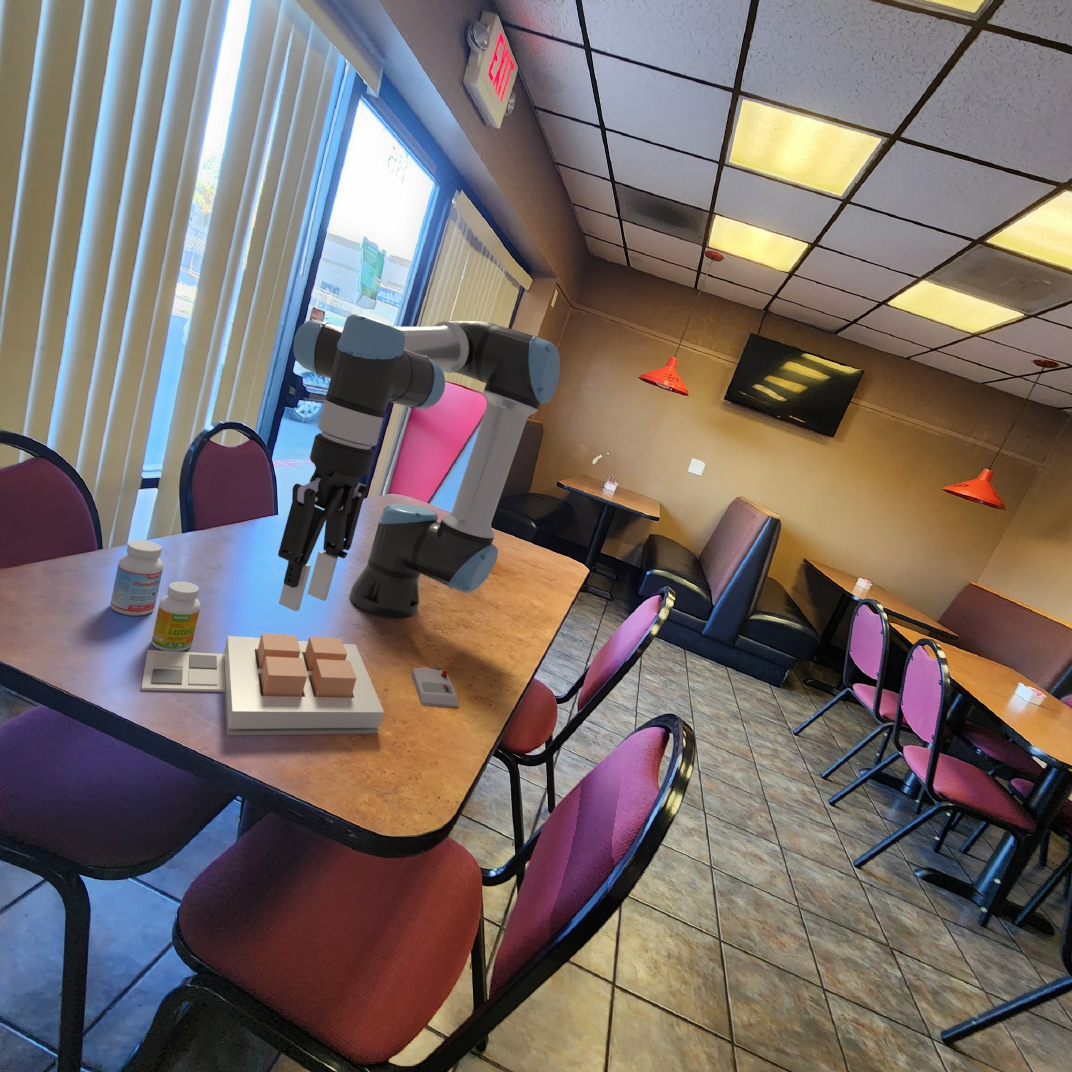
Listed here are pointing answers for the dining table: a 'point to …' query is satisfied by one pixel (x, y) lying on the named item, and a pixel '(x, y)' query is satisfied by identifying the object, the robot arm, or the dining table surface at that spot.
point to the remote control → (434, 687)
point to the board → (293, 699)
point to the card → (183, 671)
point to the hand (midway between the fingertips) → (303, 601)
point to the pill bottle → (138, 579)
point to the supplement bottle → (177, 617)
